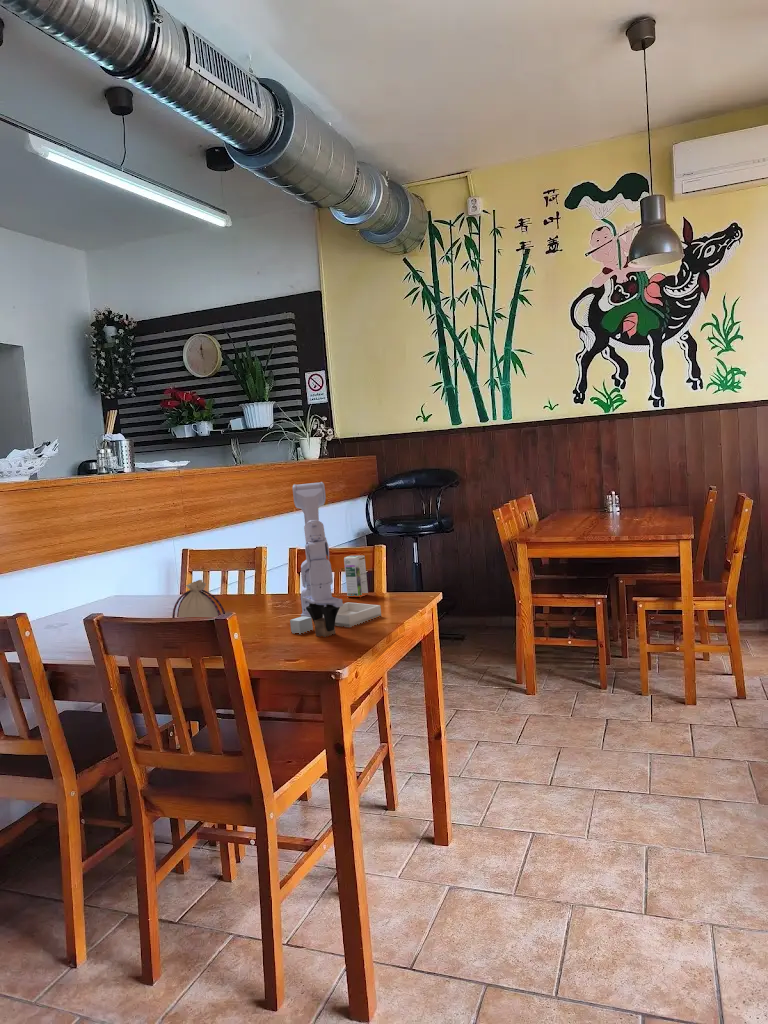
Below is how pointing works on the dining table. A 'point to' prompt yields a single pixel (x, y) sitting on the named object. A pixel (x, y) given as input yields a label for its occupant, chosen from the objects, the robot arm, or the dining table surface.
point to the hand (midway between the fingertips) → (325, 629)
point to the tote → (356, 614)
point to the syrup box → (355, 575)
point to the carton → (301, 624)
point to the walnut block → (322, 628)
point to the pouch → (197, 602)
